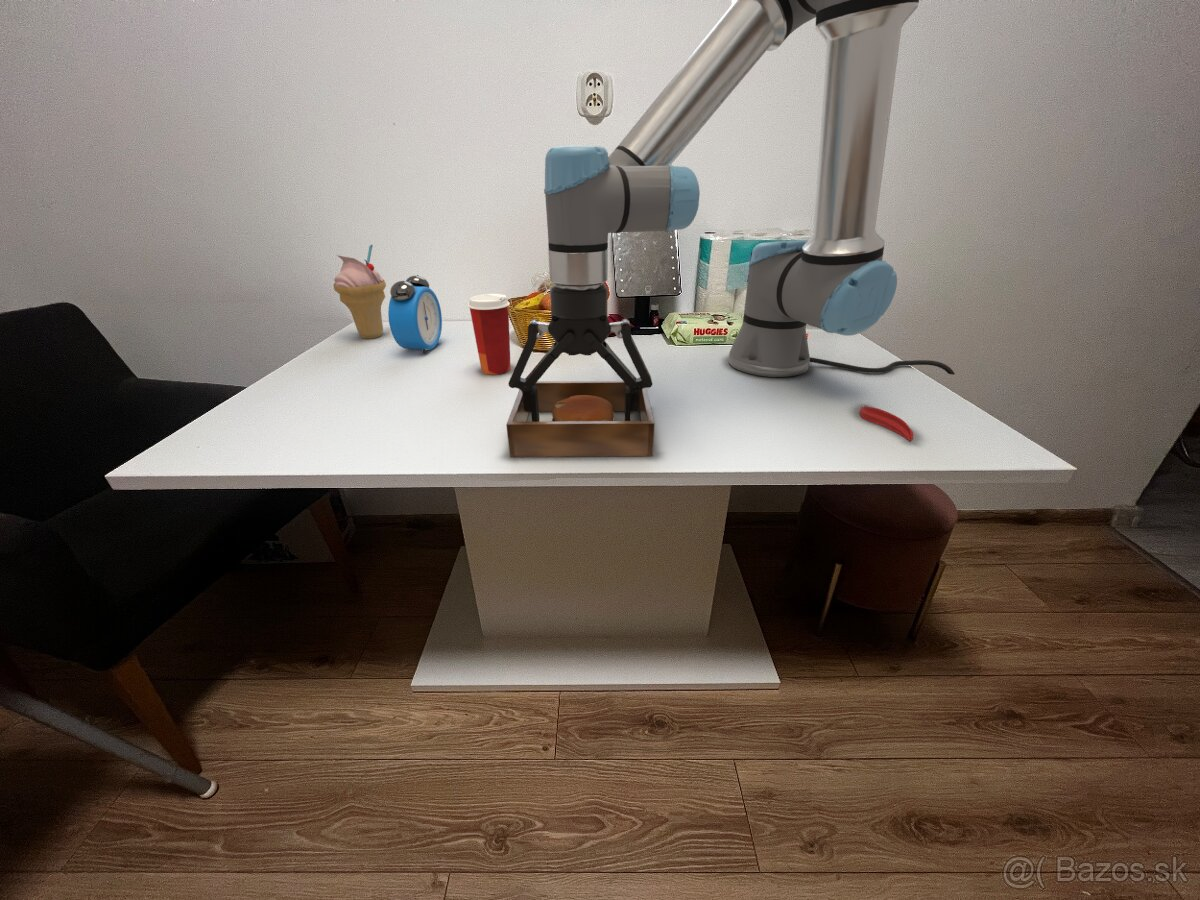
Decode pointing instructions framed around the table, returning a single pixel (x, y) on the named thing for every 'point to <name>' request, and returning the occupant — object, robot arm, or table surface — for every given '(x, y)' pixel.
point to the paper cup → (491, 331)
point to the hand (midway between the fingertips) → (581, 430)
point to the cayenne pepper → (886, 421)
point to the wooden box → (580, 424)
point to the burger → (583, 409)
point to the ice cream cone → (362, 294)
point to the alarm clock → (414, 314)
